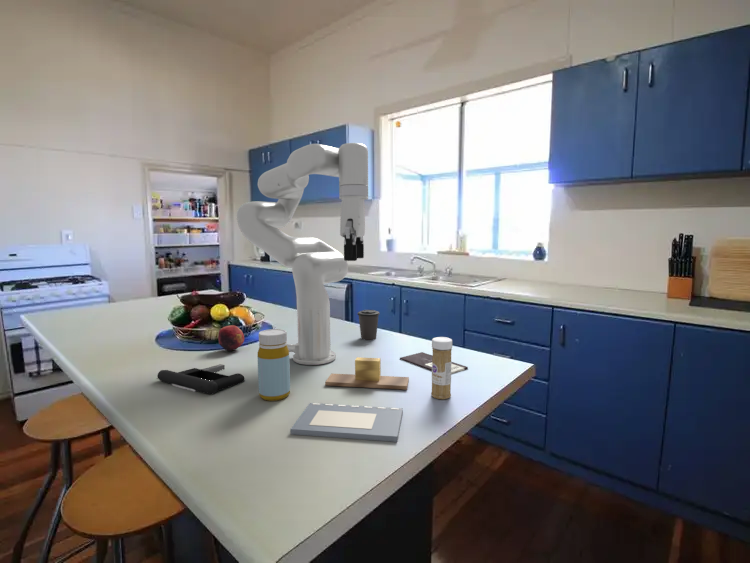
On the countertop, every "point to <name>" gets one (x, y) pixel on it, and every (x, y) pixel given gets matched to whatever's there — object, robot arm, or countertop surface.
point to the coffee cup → (368, 324)
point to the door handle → (195, 383)
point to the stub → (368, 376)
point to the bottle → (273, 365)
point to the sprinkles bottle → (441, 367)
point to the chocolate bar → (429, 362)
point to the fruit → (230, 337)
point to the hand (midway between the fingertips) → (354, 259)
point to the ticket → (349, 422)
